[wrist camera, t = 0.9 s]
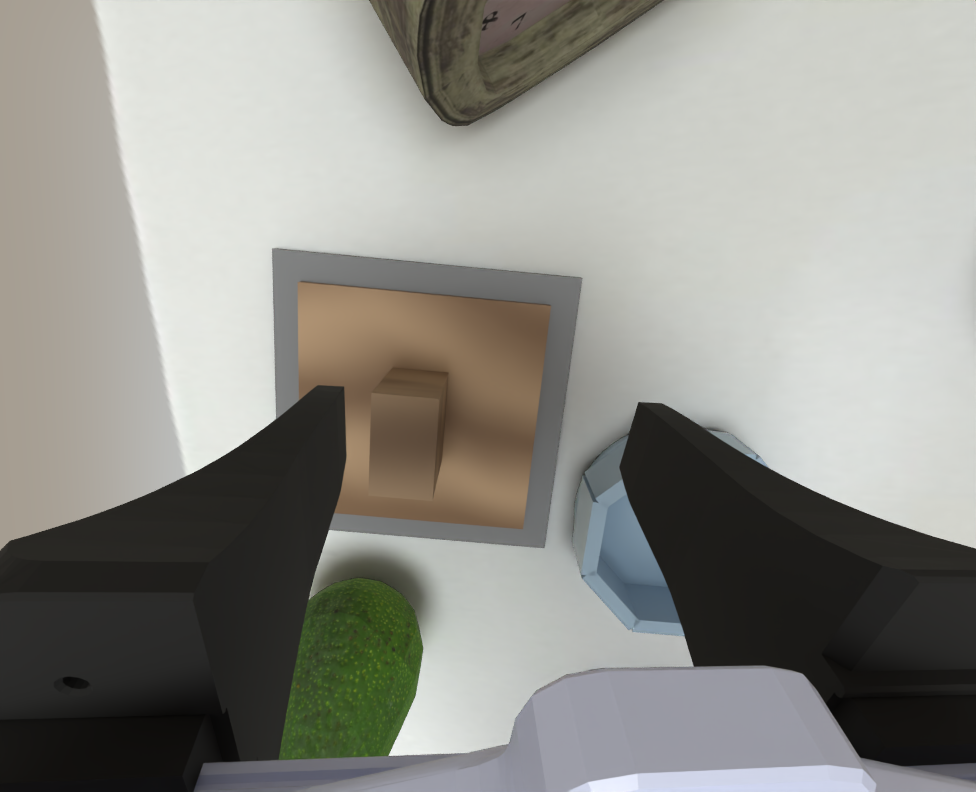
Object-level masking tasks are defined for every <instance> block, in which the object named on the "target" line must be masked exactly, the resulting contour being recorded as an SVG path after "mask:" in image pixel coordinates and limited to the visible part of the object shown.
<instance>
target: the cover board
mask: <svg viewBox="0 0 976 792" xmlns="http://www.w3.org/2000/svg"><path fill="white" fill-rule="evenodd" d="M550 311H551V305H547V304H537V303H526V302H516V301H505V300H495V299H484V298H473V297H463V296H452V295H442V294H431V293H420V292H410V291H399V290H389V289H378V288H368V287H357V286H346V285H336V284H325V283H315V282H304V281H301V282H298V367H299V400H300V399H301V398H302V397H303V396H305V395H306V394H307V393H308V392H310V391H311V390H312V389H313V388H314V387H316V386H317V385H326V386H344V392H345V422H346V453H347V458H346V464H345V470H344V476H343V482H342V487H341V492H340V496H339V499H338V502H337V506H336V509H335V512H334V513H338V514H349V515H361V516H373V517H384V518H396V519H408V520H419V521H431V522H443V523H454V524H466V525H478V526H489V527H501V528H513V529H523V525H524V517H525V509H526V502H527V494H528V486H529V478H530V470H531V462H532V454H533V446H534V438H535V430H536V422H537V414H538V406H539V398H540V390H541V382H542V374H543V366H544V358H545V350H546V343H547V335H548V327H549V319H550Z"/></svg>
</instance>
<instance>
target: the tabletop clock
mask: <svg viewBox="0 0 976 792" xmlns="http://www.w3.org/2000/svg"><path fill="white" fill-rule="evenodd" d="M369 1H370V3H371V4H372V6H373V8H374V10H375V11H376V13H377V15H378V17H379V19H380V20H381V22H382V24H383V26H384V27H385V29H386V31H387V33H388V35H389V36H390V38H391V40H392V42H393V43H394V45H395V47H396V49H397V51H398V52H399V54H400V56H401V58H402V59H403V61H404V63H405V65H406V67H407V68H408V70H409V72H410V74H411V75H412V77H413V79H414V81H415V83H416V84H417V86H418V88H419V90H420V91H421V93H422V95H423V97H424V99H425V100H426V101H427V103H428V104H429V105H430V106H431V108H432V109H433V110H434V111H435V113H436V114H437V115H438V116H439V118H440V119H441V120H442V121H444V122H445V123H447V124H450V125H452V126H468V125H469V124H471V123H473V122H475V121H477V120H479V119H481V118H482V117H484V116H486V115H488V114H490V113H492V112H494V111H495V110H497V109H499V108H500V107H502V106H504V105H505V104H507V103H509V102H510V101H512V100H514V99H515V98H517V97H518V96H520V95H521V94H523V93H525V92H526V91H528V90H529V89H531V88H532V87H534V86H536V85H537V84H539V83H540V82H542V81H543V80H545V79H546V78H548V77H550V76H551V75H553V74H554V73H556V72H557V71H559V70H560V69H562V68H564V67H565V66H567V65H568V64H570V63H571V62H573V61H574V60H576V59H578V58H579V57H581V56H582V55H584V54H585V53H587V52H588V51H590V50H591V49H593V48H595V47H596V46H598V45H599V44H600V43H602V42H603V41H605V40H606V39H608V38H609V37H611V36H612V35H614V34H615V33H617V32H618V31H619V30H621V29H622V28H624V27H625V26H627V25H628V24H630V23H631V22H633V21H634V20H636V19H637V18H638V17H640V16H641V15H643V14H644V13H646V12H647V11H649V10H650V9H652V8H653V7H655V6H656V5H657V4H659V3H660V2H662V1H663V0H369Z"/></svg>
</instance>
